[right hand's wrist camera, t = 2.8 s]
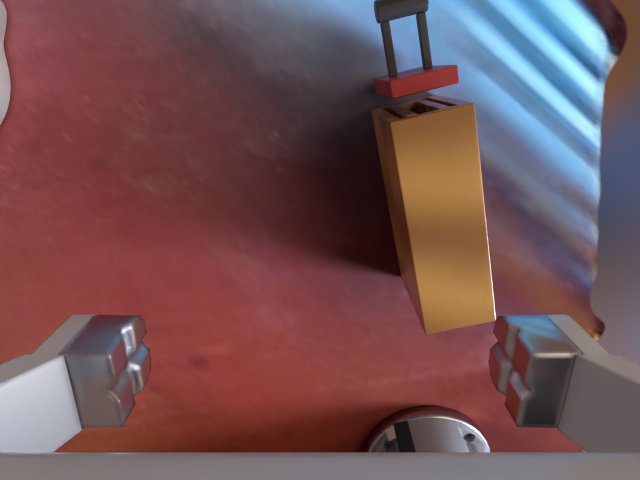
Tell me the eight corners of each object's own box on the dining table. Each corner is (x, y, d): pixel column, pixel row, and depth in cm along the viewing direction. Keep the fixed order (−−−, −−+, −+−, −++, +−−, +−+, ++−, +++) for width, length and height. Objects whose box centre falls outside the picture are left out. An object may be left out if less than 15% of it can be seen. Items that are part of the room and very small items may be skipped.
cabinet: (370, 109, 41) (389, 122, 30) (434, 94, 40) (474, 102, 30) (401, 277, 47) (425, 334, 37) (456, 265, 46) (496, 320, 36)
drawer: (361, 10, 37) (375, -7, 28) (416, -4, 36) (447, -26, 28) (402, 247, 44) (423, 288, 36) (448, 237, 44) (480, 276, 36)
